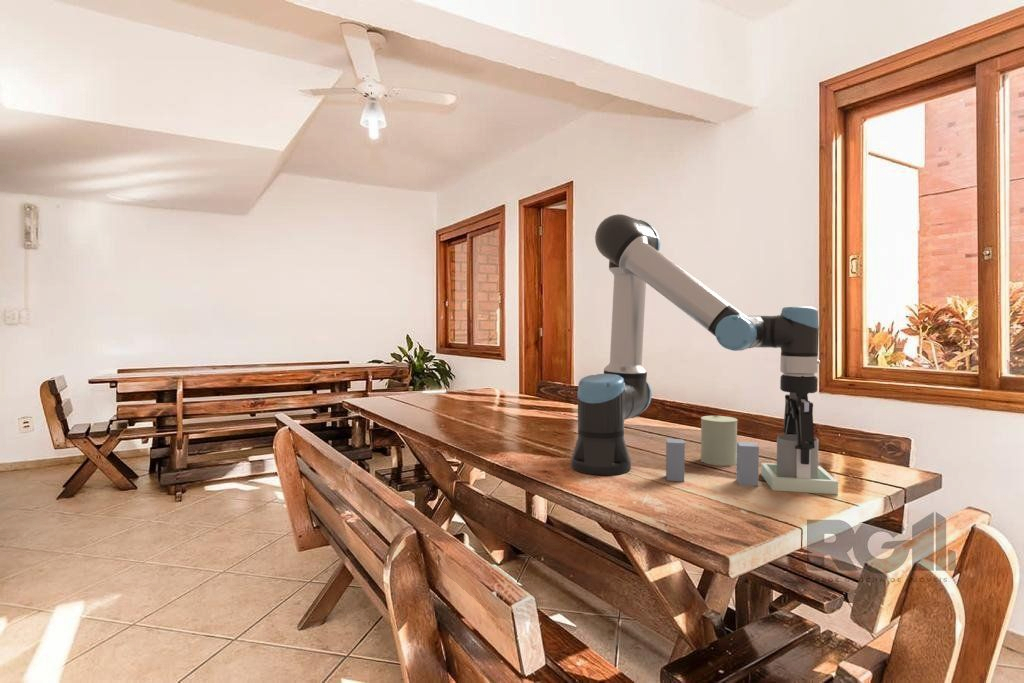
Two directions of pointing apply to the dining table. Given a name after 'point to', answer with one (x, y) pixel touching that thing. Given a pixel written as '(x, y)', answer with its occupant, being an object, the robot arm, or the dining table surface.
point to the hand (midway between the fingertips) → (797, 471)
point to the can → (719, 440)
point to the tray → (799, 481)
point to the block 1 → (675, 459)
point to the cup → (793, 456)
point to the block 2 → (747, 463)
